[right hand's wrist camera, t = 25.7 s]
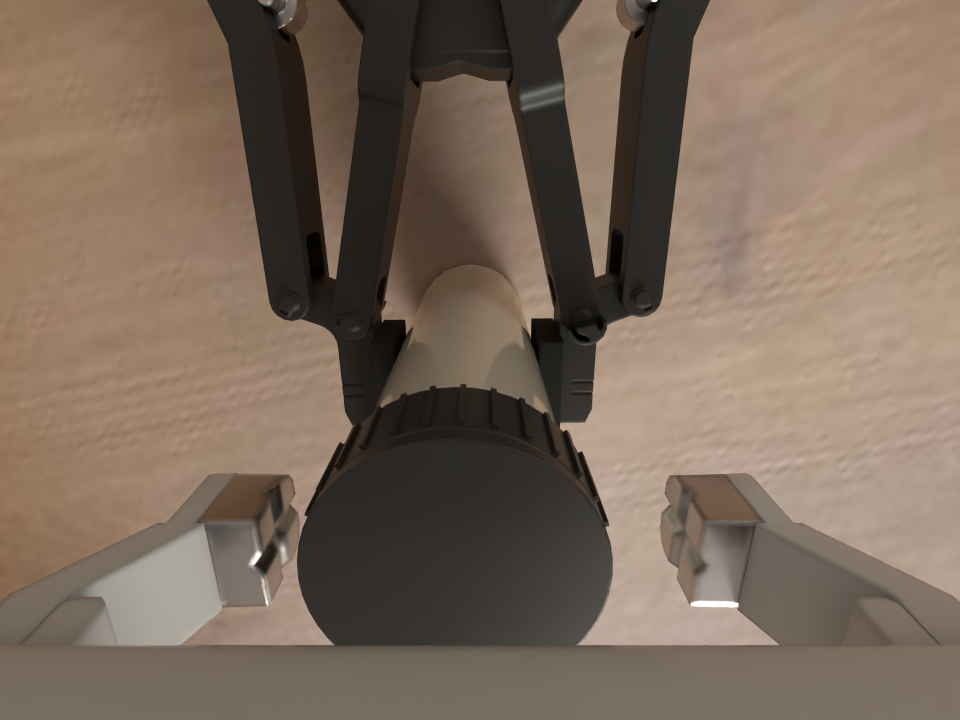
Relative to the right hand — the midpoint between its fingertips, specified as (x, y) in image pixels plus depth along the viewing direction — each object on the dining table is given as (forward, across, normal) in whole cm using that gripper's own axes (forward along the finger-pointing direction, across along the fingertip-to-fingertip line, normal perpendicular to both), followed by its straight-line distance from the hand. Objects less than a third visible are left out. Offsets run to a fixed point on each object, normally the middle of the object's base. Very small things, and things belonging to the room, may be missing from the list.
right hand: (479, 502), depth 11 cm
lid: (-2, 0, 0) cm, 2 cm away
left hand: (+8, 0, -5) cm, 9 cm away
